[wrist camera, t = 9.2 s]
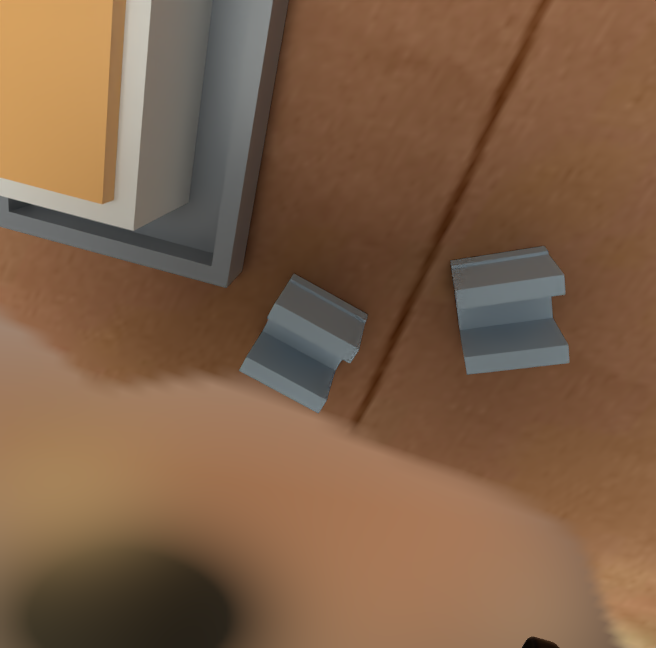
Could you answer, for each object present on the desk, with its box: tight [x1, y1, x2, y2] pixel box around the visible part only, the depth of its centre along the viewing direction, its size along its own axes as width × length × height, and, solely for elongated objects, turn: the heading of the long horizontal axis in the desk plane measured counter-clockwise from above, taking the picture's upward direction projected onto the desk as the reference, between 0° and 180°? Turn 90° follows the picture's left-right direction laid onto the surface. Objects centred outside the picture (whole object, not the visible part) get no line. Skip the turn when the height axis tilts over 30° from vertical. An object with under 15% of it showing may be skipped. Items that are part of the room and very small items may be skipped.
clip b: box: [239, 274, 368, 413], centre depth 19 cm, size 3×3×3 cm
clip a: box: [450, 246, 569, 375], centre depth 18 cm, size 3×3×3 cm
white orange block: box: [0, 0, 212, 231], centre depth 15 cm, size 4×7×5 cm, turn 167°
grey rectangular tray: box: [0, 0, 289, 288], centre depth 17 cm, size 8×11×2 cm
